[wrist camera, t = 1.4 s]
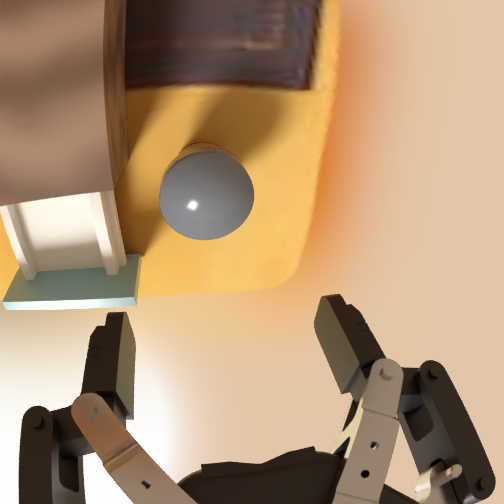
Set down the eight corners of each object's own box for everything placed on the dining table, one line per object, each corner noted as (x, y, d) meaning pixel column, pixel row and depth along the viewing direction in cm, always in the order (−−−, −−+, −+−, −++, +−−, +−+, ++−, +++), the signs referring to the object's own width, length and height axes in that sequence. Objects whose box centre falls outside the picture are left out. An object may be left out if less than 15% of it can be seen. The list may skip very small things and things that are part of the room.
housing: (-18, 8, 10) (-62, 7, 5) (130, -39, 13) (113, -67, 8) (-5, 179, 20) (-40, 214, 15) (129, 157, 23) (113, 190, 18)
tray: (-17, 112, 16) (-57, 132, 11) (121, 78, 19) (101, 85, 14) (25, 269, 26) (6, 309, 21) (141, 261, 29) (136, 305, 24)
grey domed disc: (157, 149, 19) (155, 157, 18) (251, 145, 20) (257, 153, 19) (164, 229, 23) (163, 243, 22) (246, 224, 24) (251, 237, 23)
